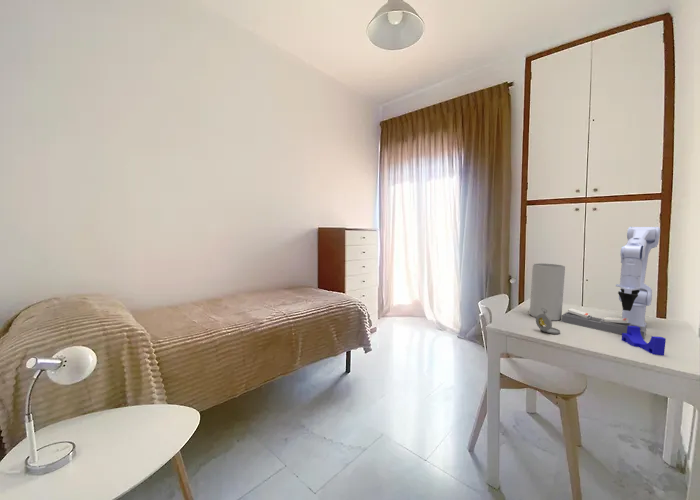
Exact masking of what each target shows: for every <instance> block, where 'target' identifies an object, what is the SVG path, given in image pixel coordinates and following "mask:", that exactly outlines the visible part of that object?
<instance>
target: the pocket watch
mask: <svg viewBox="0 0 700 500" xmlns="http://www.w3.org/2000/svg"><path fill="white" fill-rule="evenodd" d="M542 309H544V308H542ZM542 309H541V310H542ZM545 310H546V309H545ZM545 310H544V311H543V310H542V311H543V313H544V314H539V315H538V316H537V317H536V318H535V323H536V326H537V327H538V328H539V329H540V331H542V332H544V333H547V334H552V335H558V334H560V333H561V330H560V329H558V328H557V327H556V328H555V327H552V326H553V322H552V321H551V319H550V318H549V317H548V316H547V315H546V314H545V313H546V312H545ZM546 311H547V310H546Z"/></svg>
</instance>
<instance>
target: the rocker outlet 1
mask: <svg viewBox="0 0 700 500" xmlns="http://www.w3.org/2000/svg"><path fill="white" fill-rule="evenodd" d="M567 312H570V313H573V314H576V316H582V317H585V318H588V317H589V315H590V313H587V312H584V311H582V310H578V309H575V308H572V307H570V308H568V309H567ZM590 316H591V315H590Z"/></svg>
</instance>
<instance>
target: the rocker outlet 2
mask: <svg viewBox="0 0 700 500" xmlns="http://www.w3.org/2000/svg"><path fill="white" fill-rule="evenodd" d="M628 321H629V320H628V319H627V318H622V317H608V316H606V317H604V322H614V323H615V324H616V323H628Z"/></svg>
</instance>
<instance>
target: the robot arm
mask: <svg viewBox="0 0 700 500" xmlns="http://www.w3.org/2000/svg"><path fill="white" fill-rule="evenodd" d="M626 231H627V232H626V237H627V242H626V244H625V245H624V246H623V245H622V246H621V248H620V263H621V268H620V279H619V283H618V284H617V283H616V284H615V287H617V288H618V287H619V288H620V289H619V291H618V292H617V294H618V300H619V301H620V303H621V306H622V311H621V318H627V319H628V320H629V321H628V323H631V324H632V325H637V326H642V327H647V322H646V312H647V311H646V310H647V307H649V306H651V305H652V300H653V289H652V287H650V285H647V284H646V283H645V281H646V280H645V279H646V274H647V267H648V261H649V255H650V252H651V251H652V249H655V248H657V247H658V245H659V241H660V238H661V237H660V236H661V228H660V226H629V227H628V228H627V230H626Z"/></svg>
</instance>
